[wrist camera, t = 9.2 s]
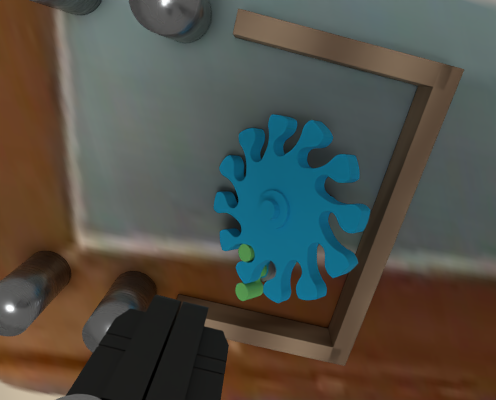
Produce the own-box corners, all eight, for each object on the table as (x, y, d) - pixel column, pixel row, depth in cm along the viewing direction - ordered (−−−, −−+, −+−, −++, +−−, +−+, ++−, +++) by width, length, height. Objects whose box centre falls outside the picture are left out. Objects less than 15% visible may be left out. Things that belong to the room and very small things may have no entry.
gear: (245, 80, 21) (398, 180, 15) (311, 97, 25) (449, 180, 19) (182, 240, 25) (280, 362, 20) (246, 231, 30) (342, 330, 24)
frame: (446, 69, 22) (464, 69, 20) (339, 345, 28) (344, 365, 26) (240, 14, 21) (238, 8, 19) (175, 308, 27) (169, 326, 25)
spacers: (216, -9, 21) (204, -33, 16) (152, 313, 27) (130, 363, 23) (51, -54, 21) (-12, -92, 16) (25, 284, 27) (-24, 329, 22)
